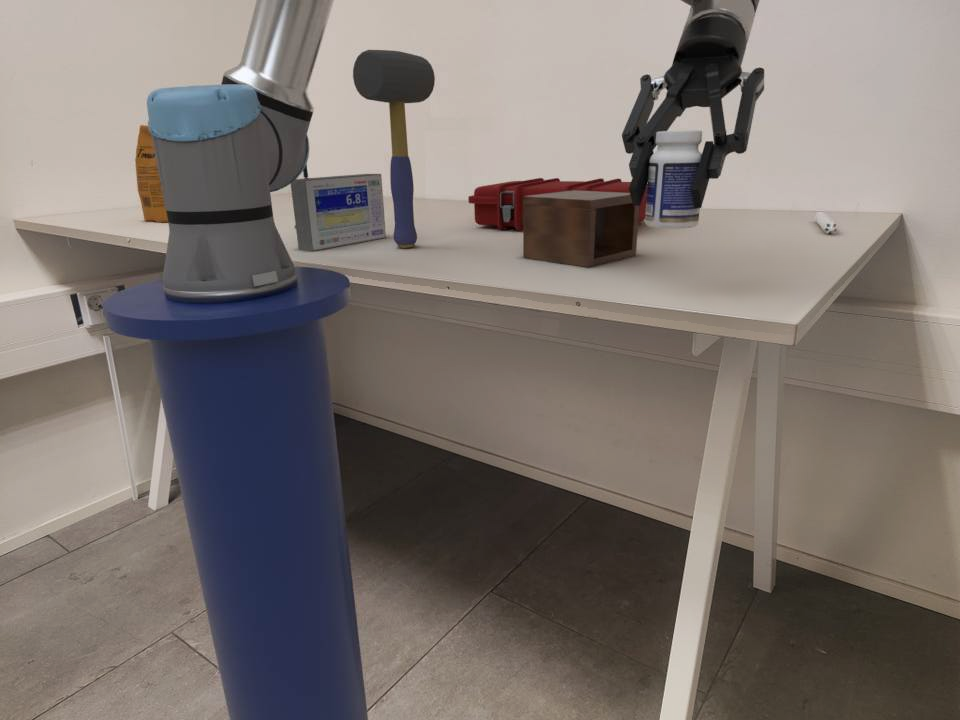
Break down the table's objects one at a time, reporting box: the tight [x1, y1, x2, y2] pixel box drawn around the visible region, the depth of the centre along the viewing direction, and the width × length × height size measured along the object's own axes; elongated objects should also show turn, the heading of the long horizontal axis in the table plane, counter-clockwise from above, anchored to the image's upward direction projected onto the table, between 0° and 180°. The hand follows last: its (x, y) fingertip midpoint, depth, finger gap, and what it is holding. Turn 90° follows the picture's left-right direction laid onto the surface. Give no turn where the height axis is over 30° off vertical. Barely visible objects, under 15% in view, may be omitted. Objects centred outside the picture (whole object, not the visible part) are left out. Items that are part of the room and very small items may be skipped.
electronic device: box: [290, 163, 387, 252], centre depth 108 cm, size 17×7×20 cm, turn 143°
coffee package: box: [134, 124, 168, 223], centre depth 148 cm, size 10×12×22 cm
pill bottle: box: [644, 129, 703, 230], centre depth 67 cm, size 6×6×10 cm
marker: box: [814, 211, 838, 235], centre depth 113 cm, size 18×2×2 cm, turn 158°
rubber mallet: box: [352, 49, 436, 249], centre depth 100 cm, size 12×8×30 cm, turn 145°
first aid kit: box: [467, 177, 648, 232], centre depth 125 cm, size 32×23×9 cm
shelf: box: [522, 190, 639, 268], centre depth 91 cm, size 12×12×9 cm
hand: (664, 198), depth 65 cm, fingers closed on pill bottle, 6 cm apart
